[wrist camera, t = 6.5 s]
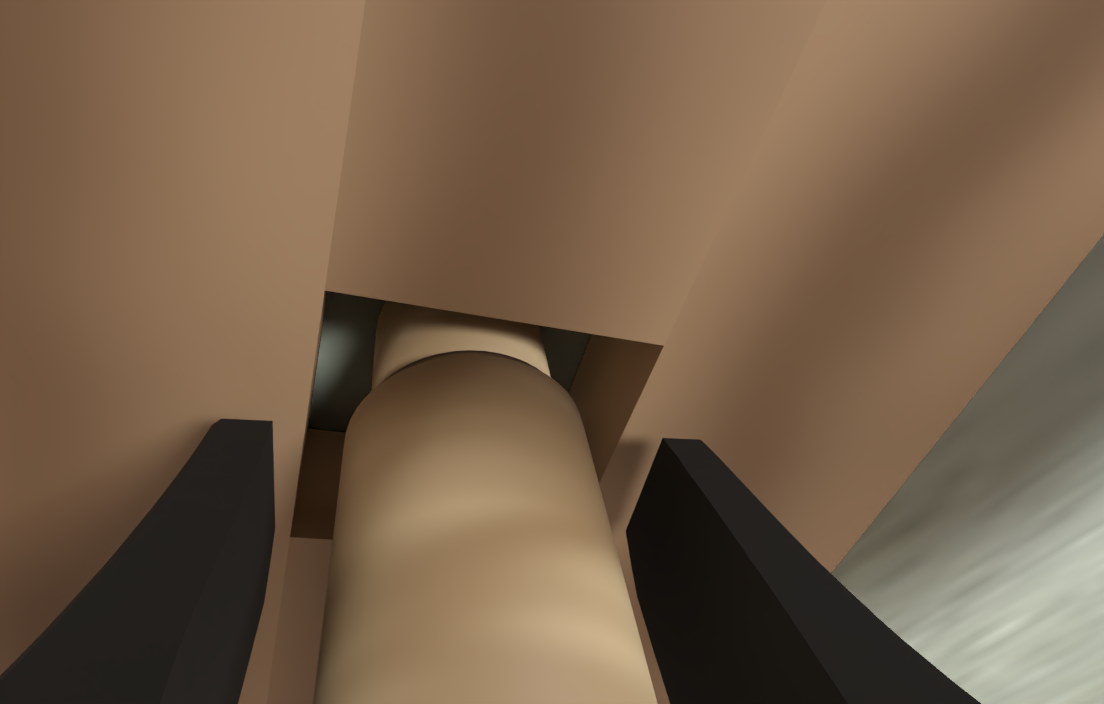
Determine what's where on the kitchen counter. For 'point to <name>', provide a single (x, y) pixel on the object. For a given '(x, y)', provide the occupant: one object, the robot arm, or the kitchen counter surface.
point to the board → (519, 243)
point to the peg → (472, 532)
